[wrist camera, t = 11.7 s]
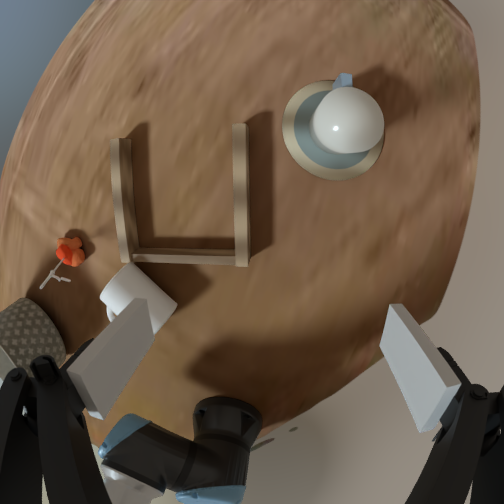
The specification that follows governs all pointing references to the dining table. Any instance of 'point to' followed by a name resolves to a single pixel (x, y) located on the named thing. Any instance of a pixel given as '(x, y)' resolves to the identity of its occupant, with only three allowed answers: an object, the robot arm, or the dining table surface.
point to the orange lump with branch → (67, 256)
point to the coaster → (305, 148)
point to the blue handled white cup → (346, 120)
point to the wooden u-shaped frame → (133, 253)
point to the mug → (137, 295)
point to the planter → (27, 337)
